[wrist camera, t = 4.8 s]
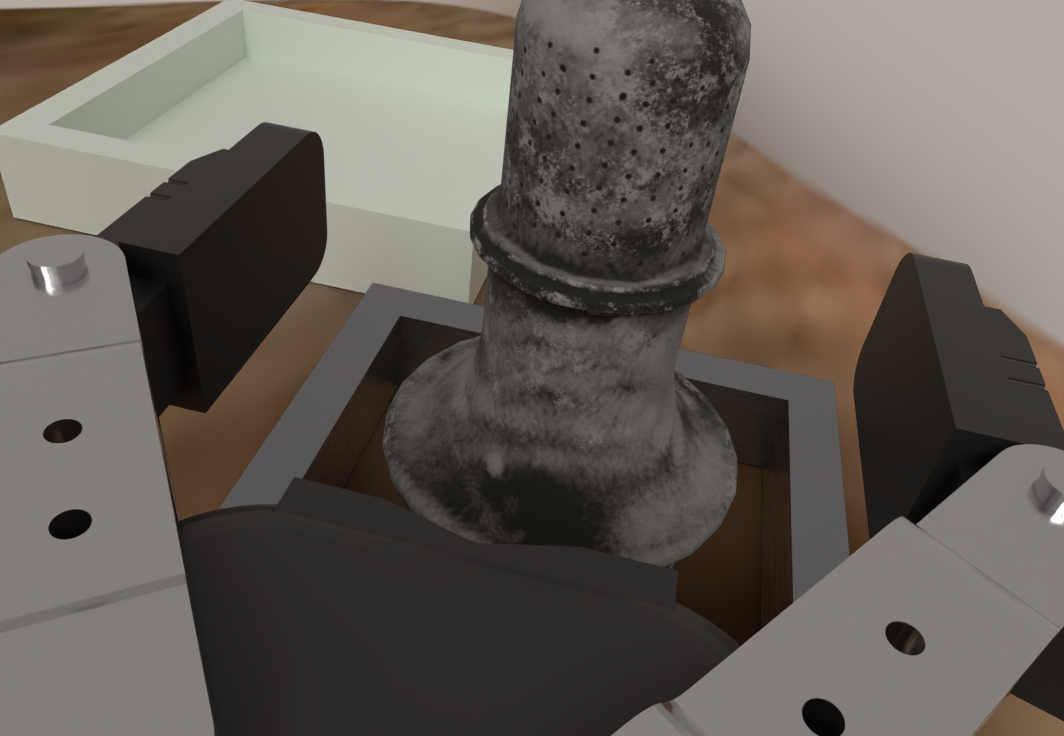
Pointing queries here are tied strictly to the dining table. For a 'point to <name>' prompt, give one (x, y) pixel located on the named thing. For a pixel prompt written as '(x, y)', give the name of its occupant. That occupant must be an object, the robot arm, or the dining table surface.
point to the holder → (731, 386)
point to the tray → (295, 101)
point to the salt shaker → (589, 295)
